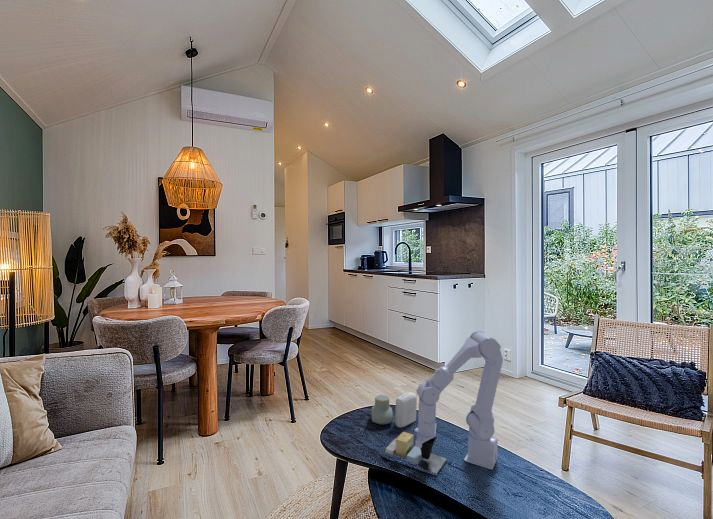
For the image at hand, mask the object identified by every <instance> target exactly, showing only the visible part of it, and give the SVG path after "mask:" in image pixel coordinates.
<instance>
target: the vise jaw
mask: <svg viewBox="0 0 713 519" xmlns="http://www.w3.org/2000/svg"><path fill="white" fill-rule="evenodd" d="M422 459H423V458H422V454H421V449H420V448H419V447H416V446H415V445H413V449H412V450H411V451H410V452H409V453H408V455H407V461H408V462H411V463H414V464H417V465H418V464H419V462H420V461H421V460H422Z"/></svg>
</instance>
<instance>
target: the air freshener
mask: <svg viewBox="0 0 713 519" xmlns="http://www.w3.org/2000/svg"><path fill="white" fill-rule="evenodd" d="M389 397H390V396H387V395H385V394H379V395H377V396H375V397H374V405H373V406H372V407H371V421H372V422H373V423H375V424H377V425H388V424H390V423H392V422H393V419H394V418H393V417H394V415H393V408H392V407H391V406H390V398H389Z"/></svg>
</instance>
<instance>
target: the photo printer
mask: <svg viewBox="0 0 713 519" xmlns="http://www.w3.org/2000/svg"><path fill="white" fill-rule="evenodd" d="M417 399H418V398H417V393H415V392H411V391H409V392H405V393H403V394H401V395H400V396H398V397H397V398H396V400H395V411H394V412H395V418H394V420H395V422H394V423H395V426H396V427H397V428H404V427H406V426H408V425H411V424H413V423H414V422H416V420H417V404H418V403H417V401H418V400H417Z"/></svg>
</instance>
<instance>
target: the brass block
mask: <svg viewBox="0 0 713 519" xmlns="http://www.w3.org/2000/svg"><path fill="white" fill-rule="evenodd" d="M414 440H415V439H414V434H412V433H410V432H406V431H402V432H401V433H400V434H399V435H398V436H397V437H396V456H399V457H402V458H405V459H407V455H408V453H409V452H410V451H411V450H412V449H413V448H414Z"/></svg>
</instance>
